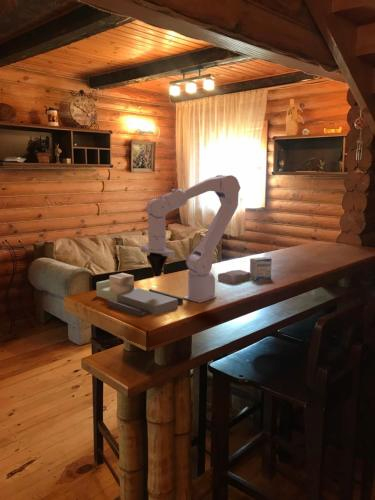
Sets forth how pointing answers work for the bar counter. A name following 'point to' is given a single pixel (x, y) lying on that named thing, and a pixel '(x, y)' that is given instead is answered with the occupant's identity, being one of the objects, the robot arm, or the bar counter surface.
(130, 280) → the ash block
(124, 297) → the trap causeway
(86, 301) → the bar counter surface
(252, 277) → the medicine box
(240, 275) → the stone block
